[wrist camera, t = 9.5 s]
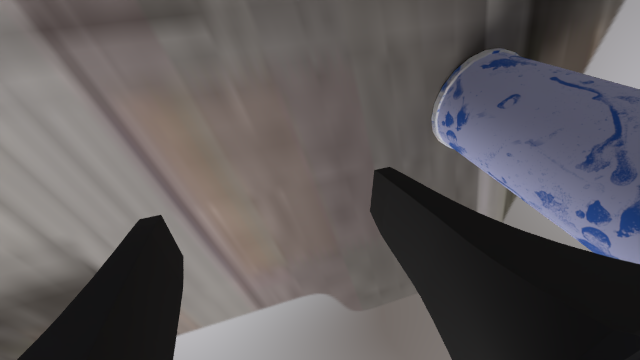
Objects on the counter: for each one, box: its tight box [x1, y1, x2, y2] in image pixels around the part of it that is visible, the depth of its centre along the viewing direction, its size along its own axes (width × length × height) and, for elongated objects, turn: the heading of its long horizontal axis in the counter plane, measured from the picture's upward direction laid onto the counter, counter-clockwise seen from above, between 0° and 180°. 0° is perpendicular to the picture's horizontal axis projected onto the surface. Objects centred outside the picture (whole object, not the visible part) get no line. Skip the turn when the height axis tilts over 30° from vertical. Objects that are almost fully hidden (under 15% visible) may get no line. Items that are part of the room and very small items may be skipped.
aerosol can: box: [431, 48, 640, 264], centre depth 14 cm, size 8×8×20 cm
